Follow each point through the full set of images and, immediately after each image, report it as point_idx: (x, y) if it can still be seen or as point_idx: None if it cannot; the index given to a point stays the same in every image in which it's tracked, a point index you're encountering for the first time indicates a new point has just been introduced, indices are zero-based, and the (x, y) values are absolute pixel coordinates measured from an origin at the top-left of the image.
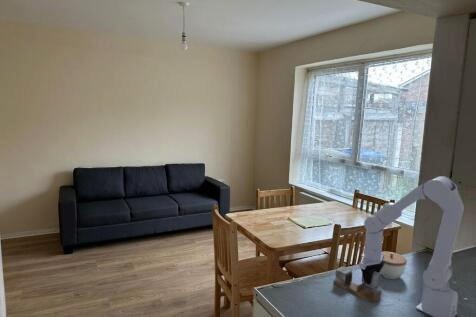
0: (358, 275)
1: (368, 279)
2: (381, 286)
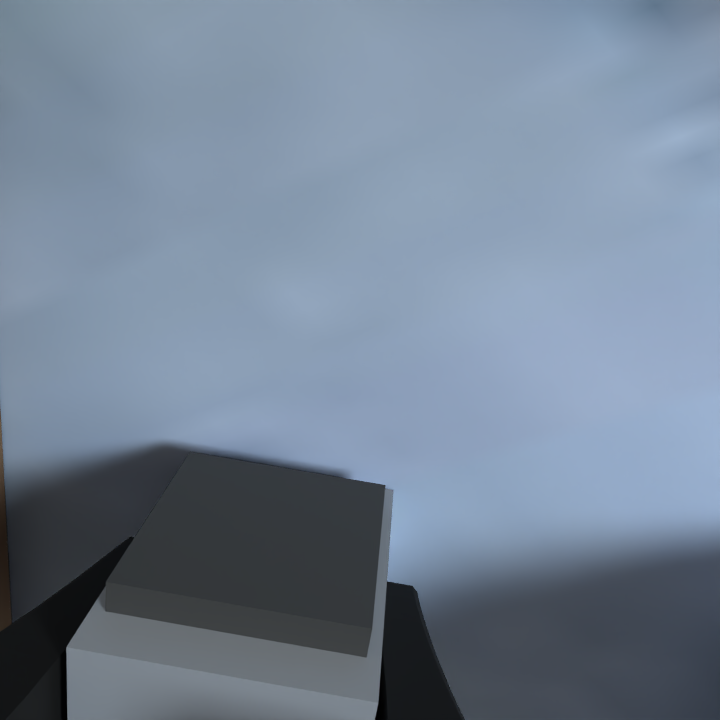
0: (486, 267)
1: None
2: None
